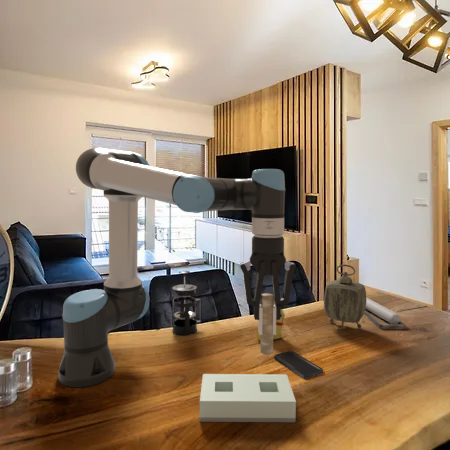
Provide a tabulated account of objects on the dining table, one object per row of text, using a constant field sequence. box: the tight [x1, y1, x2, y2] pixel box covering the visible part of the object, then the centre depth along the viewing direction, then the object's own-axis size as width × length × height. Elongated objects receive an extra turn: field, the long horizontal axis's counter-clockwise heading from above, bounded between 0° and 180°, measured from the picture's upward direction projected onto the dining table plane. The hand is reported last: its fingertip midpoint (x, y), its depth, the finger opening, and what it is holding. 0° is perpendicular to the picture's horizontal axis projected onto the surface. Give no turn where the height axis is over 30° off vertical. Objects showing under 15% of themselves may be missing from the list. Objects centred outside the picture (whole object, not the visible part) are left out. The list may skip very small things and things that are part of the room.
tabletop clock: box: [323, 264, 367, 331], centre depth 137 cm, size 14×9×25 cm, turn 58°
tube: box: [365, 296, 402, 324], centre depth 151 cm, size 5×5×25 cm
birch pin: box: [260, 292, 275, 356], centre depth 85 cm, size 3×3×14 cm
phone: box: [273, 350, 324, 380], centre depth 108 cm, size 8×1×15 cm
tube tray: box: [363, 309, 407, 330], centre depth 152 cm, size 10×30×2 cm, turn 0°
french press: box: [171, 270, 203, 337], centre depth 133 cm, size 12×9×23 cm
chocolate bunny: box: [256, 300, 286, 342], centre depth 127 cm, size 7×11×15 cm, turn 113°
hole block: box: [199, 373, 297, 423], centre depth 87 cm, size 22×12×5 cm, turn 90°
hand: (266, 332), depth 85 cm, fingers closed on birch pin, 2 cm apart
